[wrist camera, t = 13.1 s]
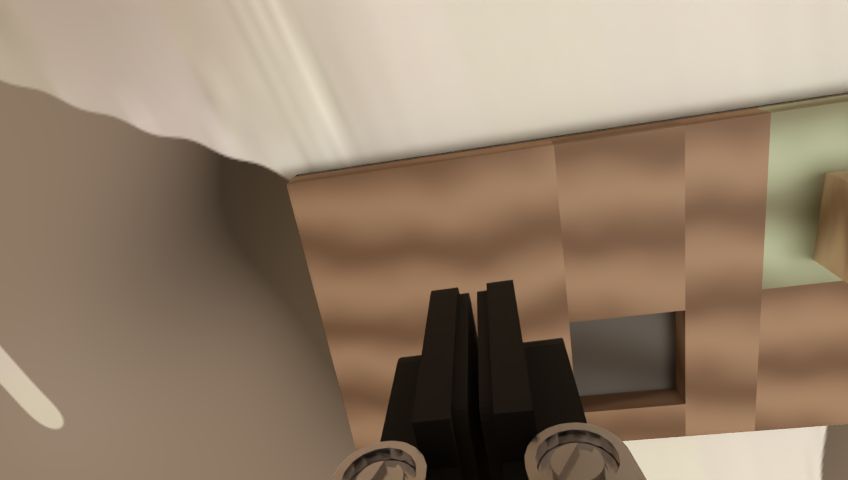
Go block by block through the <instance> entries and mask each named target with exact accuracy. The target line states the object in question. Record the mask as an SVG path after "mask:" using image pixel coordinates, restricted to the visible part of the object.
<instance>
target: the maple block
mask: <svg viewBox="0 0 848 480" xmlns="http://www.w3.org/2000/svg"><path fill="white" fill-rule="evenodd" d="M813 260H814V261H815V262H817V263H818V264H820V265H821V266H823V267H824V268H826V269H827V270H829V271H830V272H832V273H833V274H835V275H836V276H838V277H839V278H840V279H842V280H843V281H845V282H846V283H848V170H843V171H832V172H825V180H824V187H823V194H822V201H821V208H820V215H819V222H818V229H817V236H816V243H815V250H814V257H813Z"/></svg>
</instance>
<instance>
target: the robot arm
mask: <svg viewBox="0 0 848 480" xmlns="http://www.w3.org/2000/svg"><path fill="white" fill-rule="evenodd" d="M486 286H487V290H485V291H478V292H477V324H478V336H477V331H476V326H475V320H474V315H473V310H472V304H471V299H470V295H469V293H463V294H460V293H459V289H458V287H456V288H449V289H441V290H434V291H431V294H430V301H429V308H428V314H427V321H426V328H425V335H424V341H423V348H422V355H416V356H408V357H401V358H399V359H398V362H397V366H396V371H395V375H394V380H393V385H392V389H391V394H390V399H389V403H388V408H387V413H386V417H385V422H384V426H383V431H382V436H381V440H380V442H377V443H374V444H371V445H368V446H365V447H363V448H361V449H359V450H358V451H356V452H354V453H352V454H351V455H350V456H349V457H348V458H347V459H346V460H344V461H343V462H342V463H341V464H340V466H339V468H338V469H337V470H336V472H335V473H334V475H333V477H332V479H331V480H646V478H645V476H644V475H643V473H642V471H641V469H640V468H639V466H638V464H637V463H636V461H635V459H634V458H633V456H632V454H631V452H630V451H629V449H628V447H627V446H626V445H625V444H624V443H623V442H622V440H621V439H620V438H619V437H618V436H616V435H615V434H613V433H612V432H610V431H608V430H607V429H605V428H602V427H599V426H596V425H593V424H587V420H586V417H585V413H584V410H583V406H582V403H581V399H580V396H579V392H578V389H577V385H576V382H575V378H574V375H573V371H572V368H571V364H570V361H569V357H568V354H567V350H566V347H565V343H564V340H563V338H555V339H547V340H539V341H531V342H523V340H522V334H521V327H520V321H519V315H518V308H517V302H516V296H515V290H514V283H513V280H506V281H499V282H492V283H486Z"/></svg>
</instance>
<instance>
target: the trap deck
mask: <svg viewBox="0 0 848 480" xmlns="http://www.w3.org/2000/svg"><path fill="white" fill-rule="evenodd" d="M843 170H848V93H843V94H837V95H830V96H823V97H817V98H810V99H803V100H797V101H790V102H783V103H777V104H770V105H763V106H756V107H750V108H743V109H736V110H730V111H723V112H716V113H710V114H703V115H696V116H690V117H683V118H676V119H669V120H663V121H656V122H649V123H643V124H636V125H629V126H623V127H616V128H609V129H603V130H596V131H589V132H583V133H576V134H569V135H562V136H556V137H549V138H542V139H536V140H529V141H522V142H516V143H509V144H502V145H496V146H489V147H482V148H476V149H469V150H462V151H455V152H449V153H442V154H435V155H429V156H422V157H415V158H409V159H402V160H395V161H389V162H382V163H375V164H369V165H362V166H355V167H348V168H342V169H335V170H328V171H322V172H315V173H308V174H302V175H297V176H295V177H294V178H293V179H292V180H291V181H290V182H288V183H287V189H288V193H289V196H290V200H291V204H292V208H293V212H294V216H295V219H296V223H297V227H298V231H299V235H300V239H301V242H302V246H303V250H304V253H305V258H306V262H307V265H308V269H309V273H310V276H311V281H312V284H313V288H314V292H315V296H316V300H317V303H318V307H319V311H320V315H321V319H322V322H323V326H324V330H325V334H326V338H327V342H328V345H329V349H330V353H331V357H332V361H333V364H334V368H335V372H336V375H337V380H338V383H339V387H340V391H341V395H342V398H343V403H344V406H345V410H346V414H347V418H348V422H349V425H350V429H351V433H352V437H353V441H354V445H355V448H356V451H358V450H359V449H361V448H363V447H365V446H368V445H371V444H374V443H377V442H380V440H381V436H382V431H383V426H384V422H385V417H386V413H387V408H388V403H389V399H390V394H391V389H392V385H393V380H394V375H395V371H396V366H397V362H398V359H399V358H401V357H408V356H416V355H422V348H423V341H424V335H425V328H426V321H427V314H428V308H429V301H430V294H431V291H434V290H441V289H449V288H456V287H458V289H459V293H460V294H463V293H469V295H470V299H471V304H472V310H473V315H474V320H475V326H476V331H477V336H478V324H477V292H478V291H485V290H487V286H486V283H492V282H499V281H506V280H513V283H514V290H515V296H516V302H517V308H518V315H519V321H520V327H521V334H522V340H523V342H531V341H539V340H547V339H555V338H563V340H564V343H565V347H566V350H567V354H568V357H569V361H570V364H571V368H572V371H573V375H574V378H575V382H576V385H577V389H578V392H579V396H580V399H581V403H582V406H583V410H584V413H585V417H586V420H587V424H593V425H596V426H599V427H602V428H605V429H607V430H608V431H610V432H612V433H613V434H615V435H616V436H618V437H619V438H620V439H621V440H622V441H629V440H642V439H655V438H668V437H681V436H695V435H708V434H721V433H734V432H747V431H760V430H774V429H787V428H800V427H813V426H826V425H838V424H839V425H840V424H848V283H846V282H845V281H843V280H842V279H840V278H839V277H838V276H836V275H835V274H833V273H832V272H830V271H829V270H827V269H826V268H824V267H823V266H821V265H820V264H818V263H817V262H815V261H814V260H813V257H814V250H815V243H816V236H817V229H818V222H819V215H820V208H821V201H822V194H823V187H824V180H825V172H832V171H843Z"/></svg>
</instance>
